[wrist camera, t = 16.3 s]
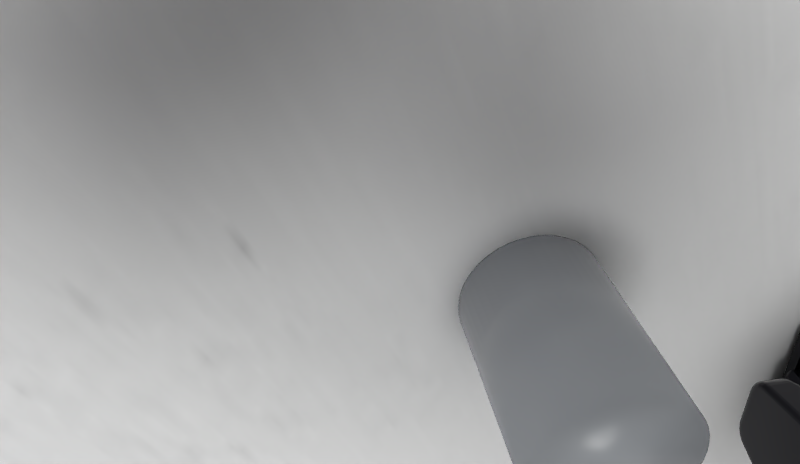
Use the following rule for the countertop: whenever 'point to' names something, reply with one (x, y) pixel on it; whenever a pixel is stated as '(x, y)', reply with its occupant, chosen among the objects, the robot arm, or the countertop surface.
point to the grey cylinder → (572, 362)
